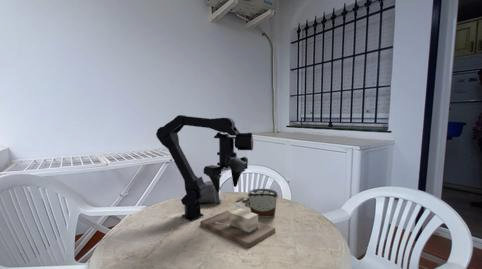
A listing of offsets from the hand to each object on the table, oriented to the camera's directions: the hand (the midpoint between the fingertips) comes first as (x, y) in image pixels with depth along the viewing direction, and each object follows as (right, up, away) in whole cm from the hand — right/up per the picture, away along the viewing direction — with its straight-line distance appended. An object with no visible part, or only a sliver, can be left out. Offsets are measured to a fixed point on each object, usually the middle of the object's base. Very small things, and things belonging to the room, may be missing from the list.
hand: (226, 189), depth 95 cm
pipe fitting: (-10, -11, +20) cm, 25 cm away
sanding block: (+7, -11, -10) cm, 16 cm away
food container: (+15, -12, +5) cm, 20 cm away
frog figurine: (+9, -11, +19) cm, 24 cm away
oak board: (+4, -12, -8) cm, 15 cm away
